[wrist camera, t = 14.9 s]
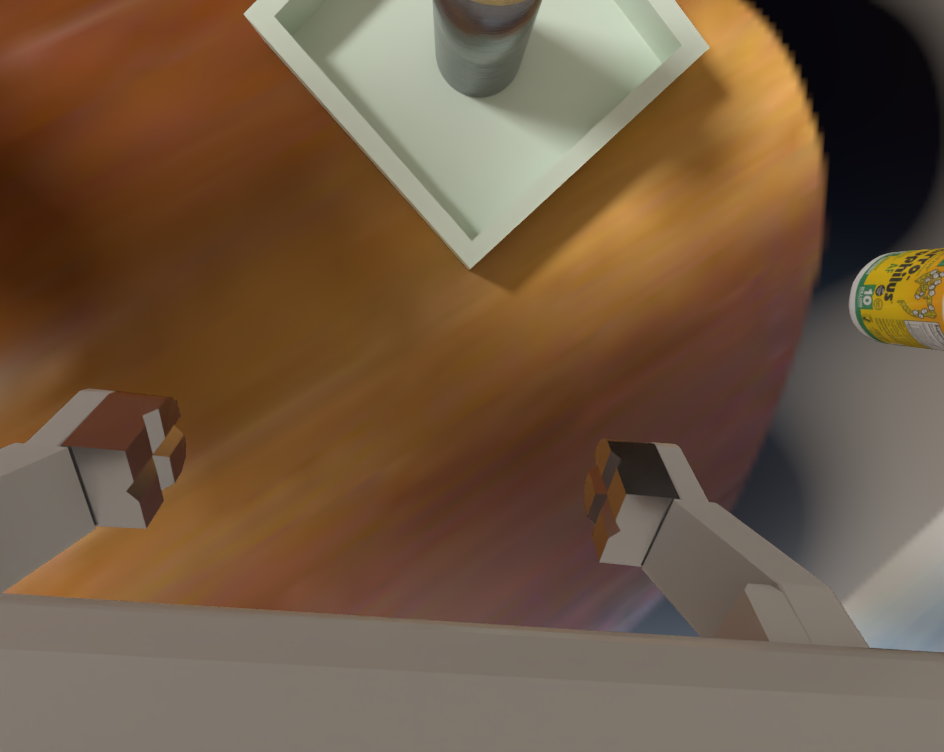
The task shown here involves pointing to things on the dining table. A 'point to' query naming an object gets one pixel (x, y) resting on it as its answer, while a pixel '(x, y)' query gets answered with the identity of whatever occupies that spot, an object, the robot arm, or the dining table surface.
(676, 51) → the tray
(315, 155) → the dining table surface
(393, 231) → the dining table surface
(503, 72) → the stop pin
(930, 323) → the supplement bottle
